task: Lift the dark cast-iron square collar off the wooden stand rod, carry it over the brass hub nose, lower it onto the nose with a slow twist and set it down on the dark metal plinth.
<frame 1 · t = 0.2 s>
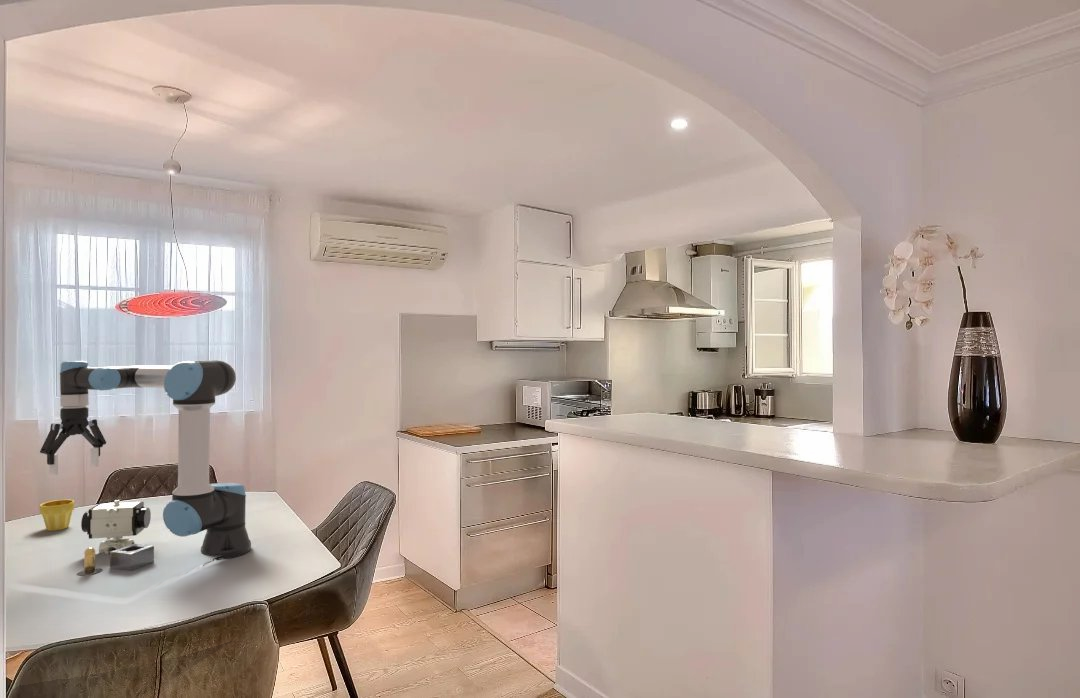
hand: (74, 470, 205), 28 cm above the table, fingers open, 13 cm apart
collar: (132, 564, 190), point 1 cm above the table, touching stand
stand: (132, 569, 190), on the table
plant pot: (57, 528, 232), on the table
ball valve: (116, 554, 204), on the table
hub: (89, 576, 184), on the table
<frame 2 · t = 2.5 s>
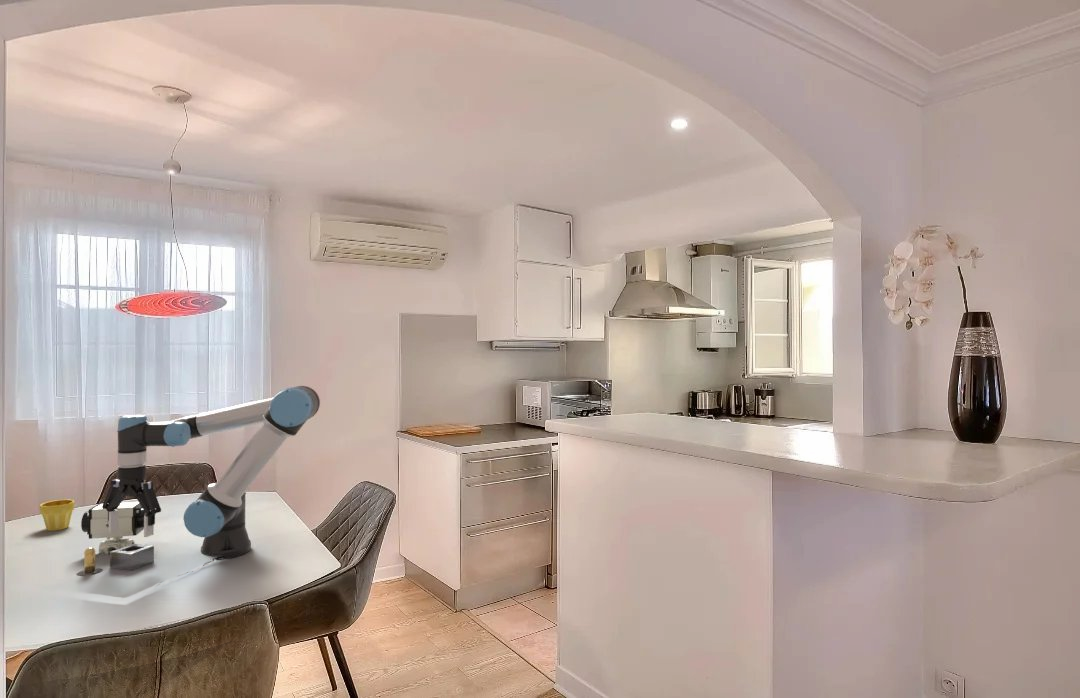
hand: (131, 533, 190), 11 cm above the table, fingers open, 13 cm apart
nothing on the table moved.
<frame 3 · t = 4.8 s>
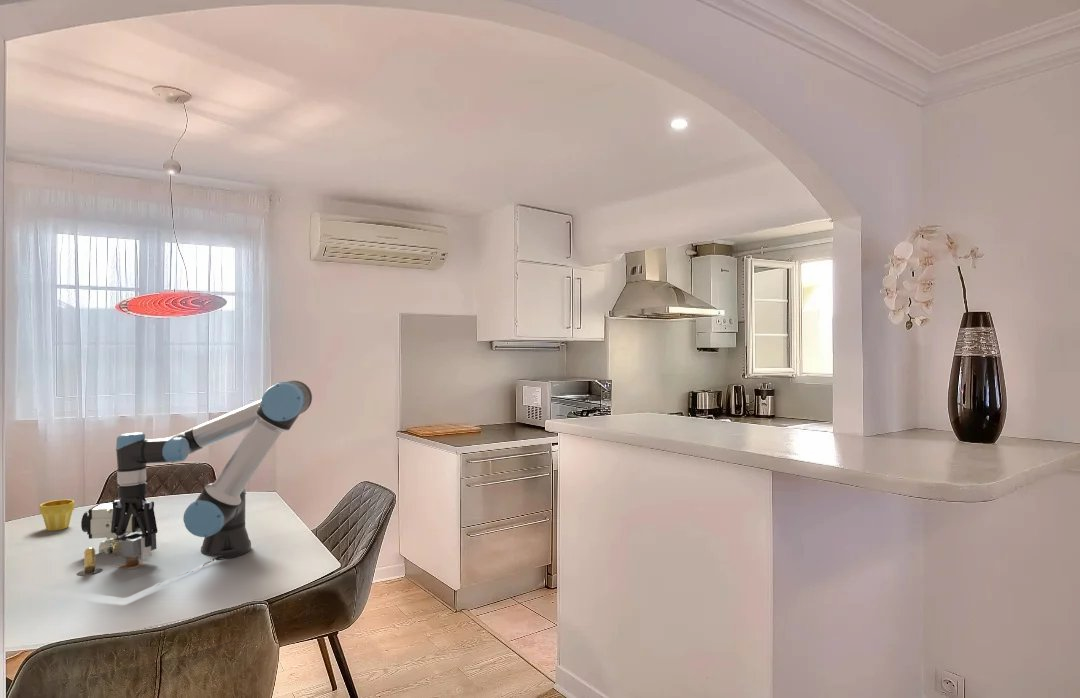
hand: (135, 556, 190), 4 cm above the table, fingers closed on collar, 8 cm apart
collar: (134, 552, 190), point 5 cm above the table, touching gripper
everything else where it was.
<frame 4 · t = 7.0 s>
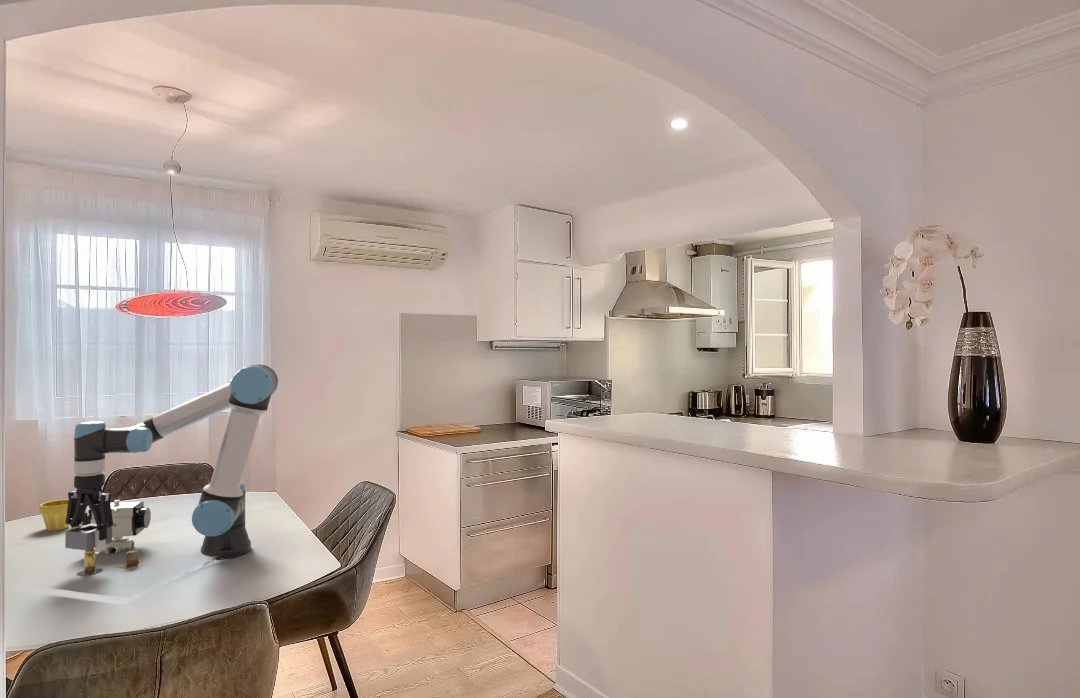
hand: (88, 549, 184), 8 cm above the table, fingers closed on collar, 8 cm apart
collar: (89, 544, 184), point 10 cm above the table, touching gripper
everything else where it was.
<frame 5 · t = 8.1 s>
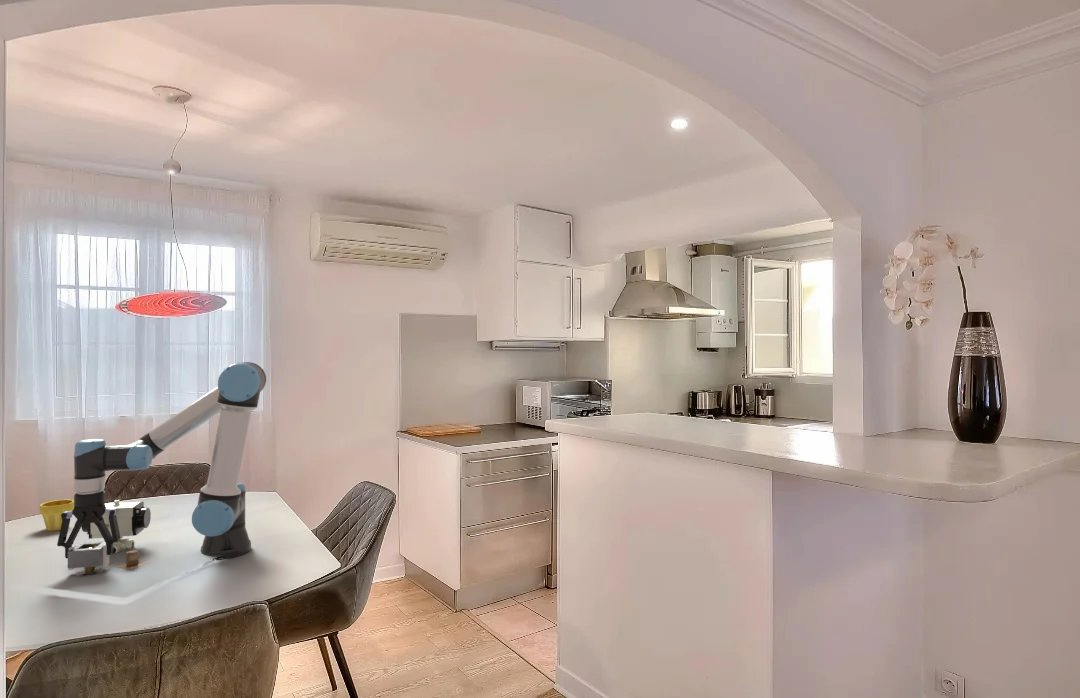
hand: (89, 566, 184), 3 cm above the table, fingers closed on collar, 8 cm apart
collar: (89, 562, 184), point 4 cm above the table, touching gripper
everything else where it was.
when the fingers open (2 cm above the table, at t = 9.2 s): collar drops 1 cm, resting on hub.
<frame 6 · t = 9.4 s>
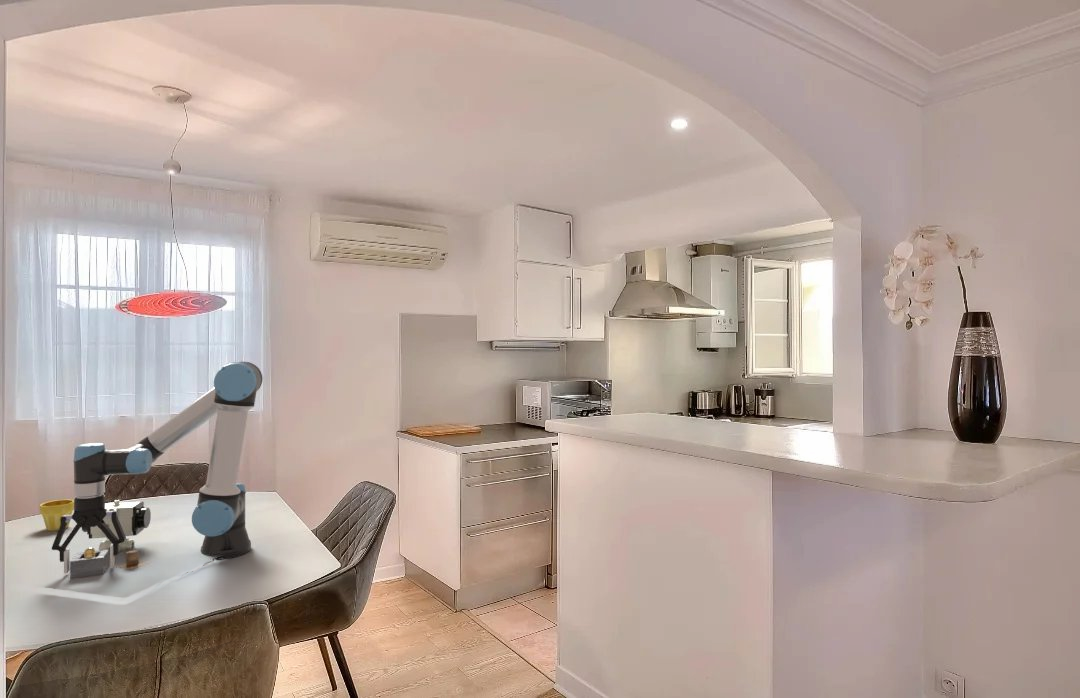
hand: (89, 569, 184), 2 cm above the table, fingers open, 10 cm apart
collar: (90, 571, 184), point 1 cm above the table, touching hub
everything else where it was.
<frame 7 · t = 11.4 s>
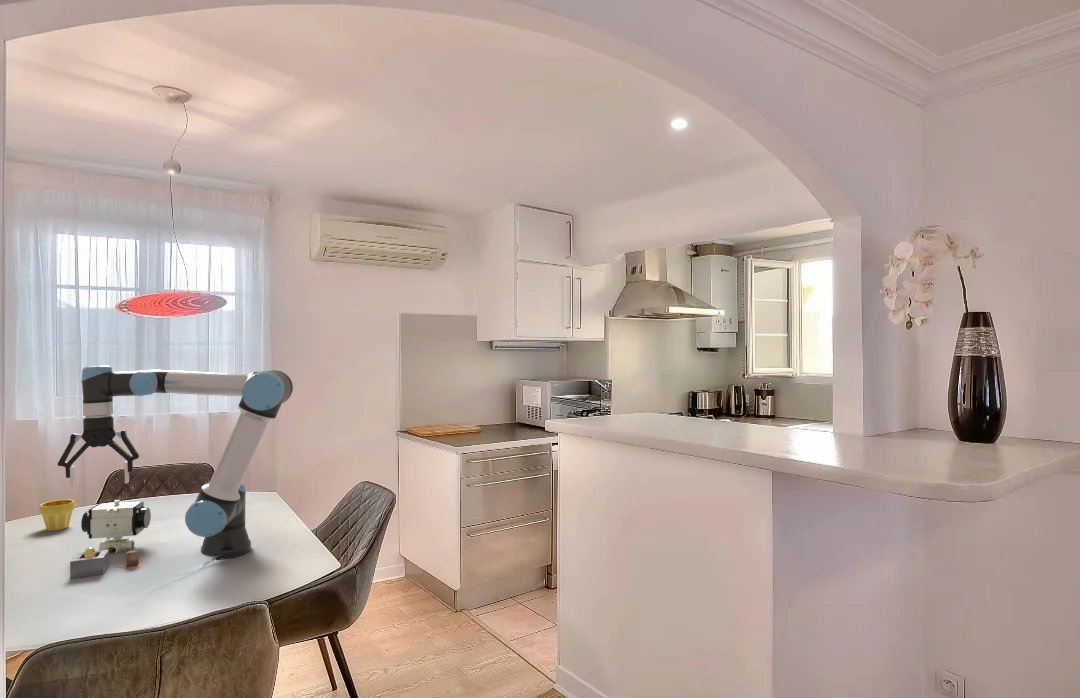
hand: (100, 485, 187), 27 cm above the table, fingers open, 13 cm apart
nothing on the table moved.
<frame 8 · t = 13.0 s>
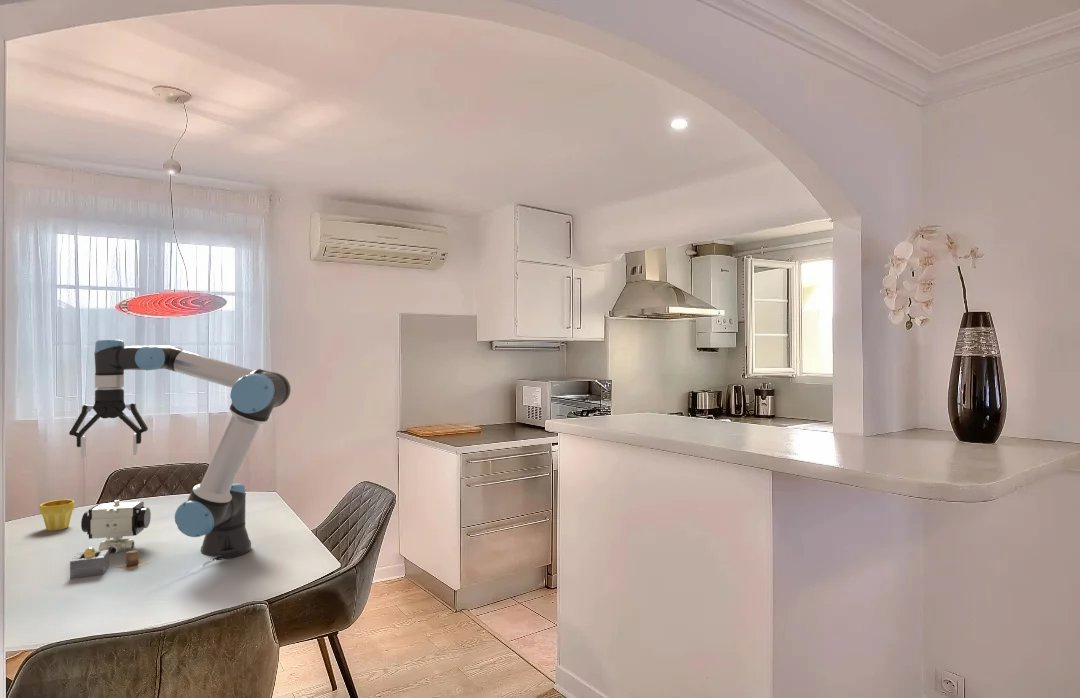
hand: (109, 455, 193), 35 cm above the table, fingers open, 13 cm apart
nothing on the table moved.
at the end: collar 0.0 cm off-centre on the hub, point 1.5 cm above the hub's base; the gripper is holding nothing; collar tilted 0° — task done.
